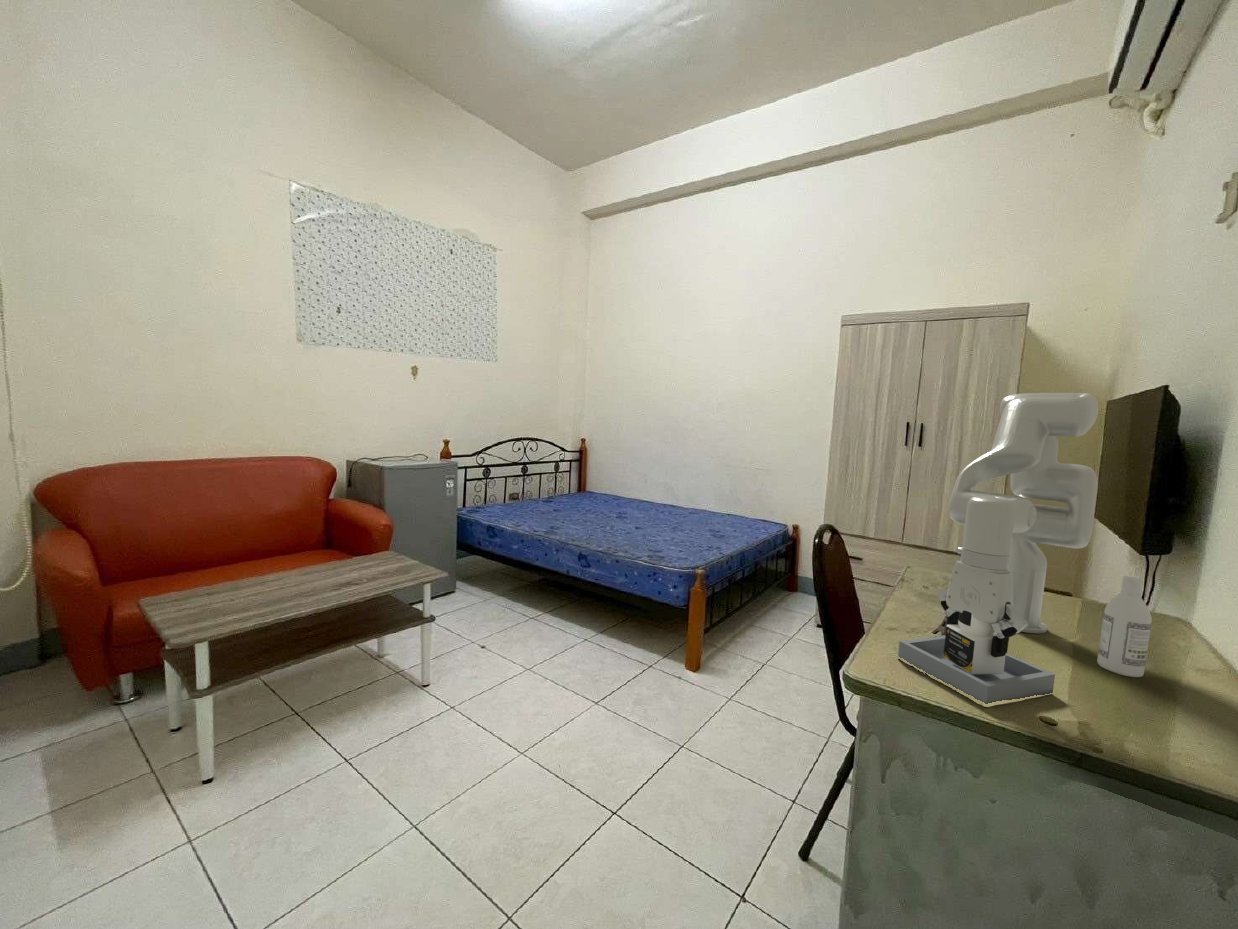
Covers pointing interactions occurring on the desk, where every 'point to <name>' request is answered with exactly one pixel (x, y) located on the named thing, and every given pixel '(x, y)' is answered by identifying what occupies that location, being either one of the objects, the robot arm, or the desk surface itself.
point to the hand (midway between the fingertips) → (974, 645)
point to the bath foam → (1125, 631)
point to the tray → (984, 687)
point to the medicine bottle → (972, 646)
